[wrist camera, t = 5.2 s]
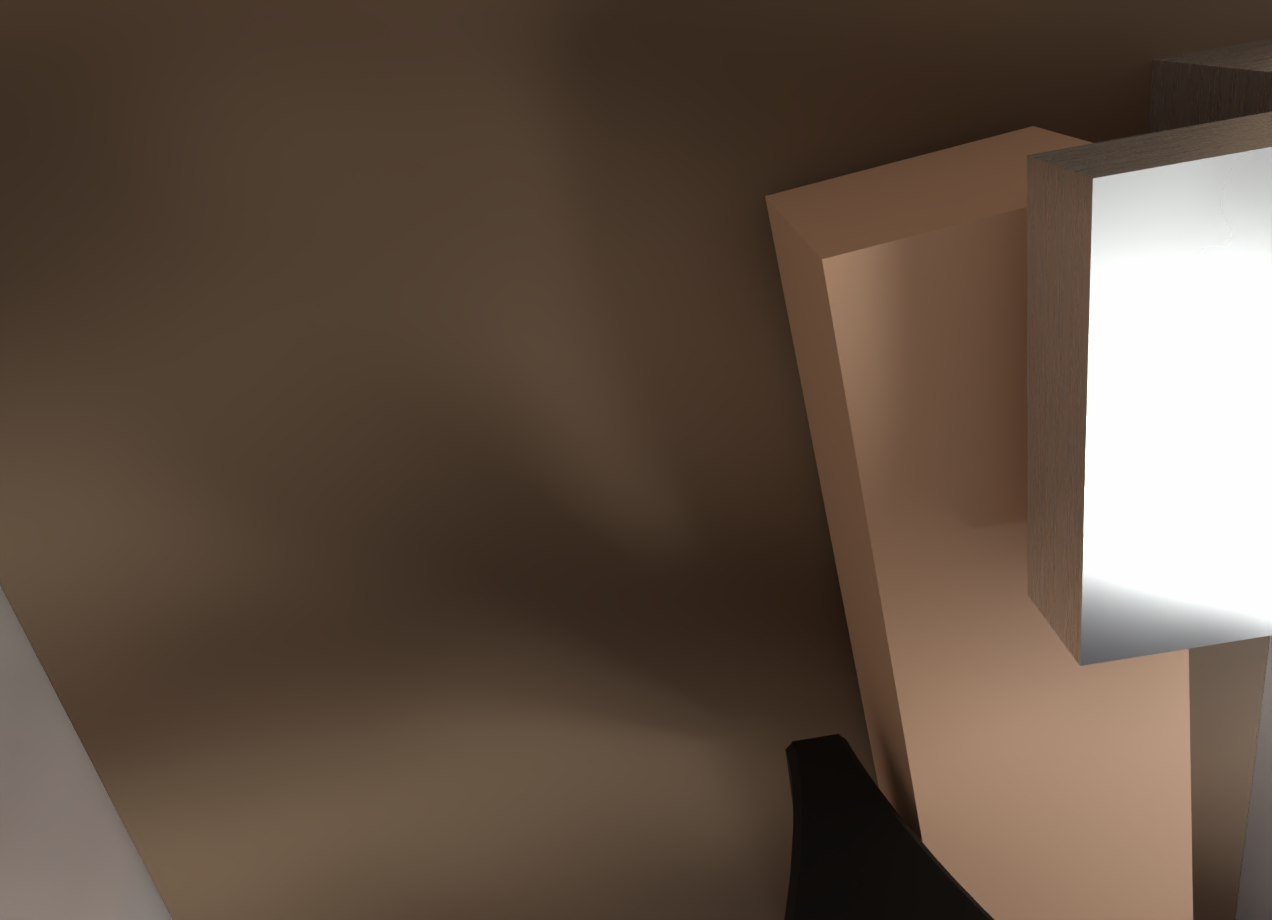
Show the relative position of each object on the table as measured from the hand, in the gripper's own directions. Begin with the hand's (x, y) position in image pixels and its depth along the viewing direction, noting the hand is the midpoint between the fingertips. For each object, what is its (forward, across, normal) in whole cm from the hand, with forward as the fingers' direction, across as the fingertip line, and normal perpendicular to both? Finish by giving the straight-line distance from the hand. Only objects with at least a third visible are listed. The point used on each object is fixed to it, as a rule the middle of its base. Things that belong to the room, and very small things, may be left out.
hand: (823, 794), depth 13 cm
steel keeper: (+2, -4, -6) cm, 8 cm away
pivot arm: (+1, -2, 0) cm, 3 cm away
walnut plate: (+3, +2, -2) cm, 4 cm away
